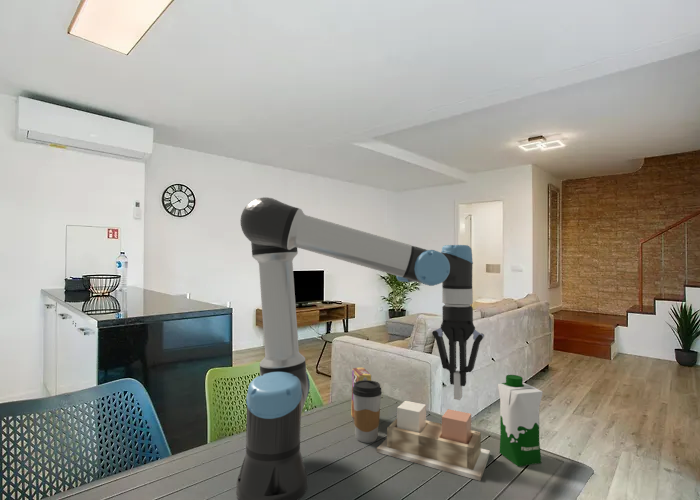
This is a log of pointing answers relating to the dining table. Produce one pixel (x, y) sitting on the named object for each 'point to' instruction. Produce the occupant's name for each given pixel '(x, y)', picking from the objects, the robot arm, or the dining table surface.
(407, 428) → the white block
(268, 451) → the robot arm
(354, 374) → the candy box
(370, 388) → the coffee cup
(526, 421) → the milk carton
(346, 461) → the dining table surface
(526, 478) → the dining table surface
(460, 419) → the salmon pink block
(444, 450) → the housing
